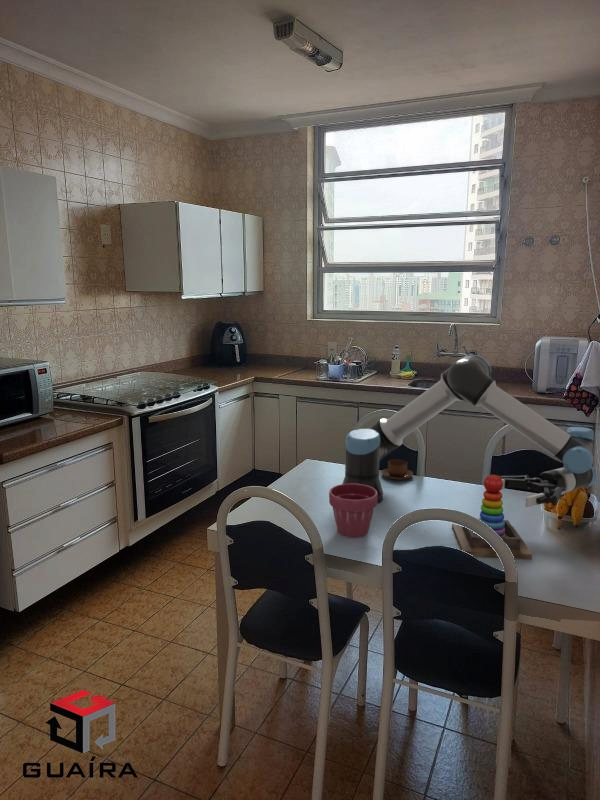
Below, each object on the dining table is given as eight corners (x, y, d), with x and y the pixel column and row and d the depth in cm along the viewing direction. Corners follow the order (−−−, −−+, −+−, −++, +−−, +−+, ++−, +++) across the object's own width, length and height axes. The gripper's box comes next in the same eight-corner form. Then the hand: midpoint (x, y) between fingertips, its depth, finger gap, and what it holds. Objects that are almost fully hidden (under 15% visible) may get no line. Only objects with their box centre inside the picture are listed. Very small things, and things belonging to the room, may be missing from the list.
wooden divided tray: (463, 556, 150) (464, 540, 149) (451, 528, 168) (452, 514, 167) (531, 559, 148) (533, 543, 147) (513, 531, 166) (514, 517, 165)
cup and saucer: (386, 470, 223) (387, 455, 222) (416, 474, 218) (416, 459, 217) (377, 479, 212) (378, 464, 211) (408, 484, 207) (409, 468, 206)
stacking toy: (506, 535, 159) (511, 473, 156) (504, 546, 152) (509, 482, 149) (478, 530, 163) (482, 469, 159) (474, 541, 155) (478, 478, 152)
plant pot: (320, 534, 163) (320, 493, 161) (342, 518, 175) (342, 479, 173) (364, 546, 156) (365, 503, 153) (384, 528, 168) (385, 488, 165)
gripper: (593, 507, 158) (543, 522, 147) (520, 482, 179) (473, 493, 169) (595, 482, 156) (546, 495, 146) (522, 459, 178) (474, 469, 167)
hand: (506, 494), depth 157 cm, fingers open, 13 cm apart
